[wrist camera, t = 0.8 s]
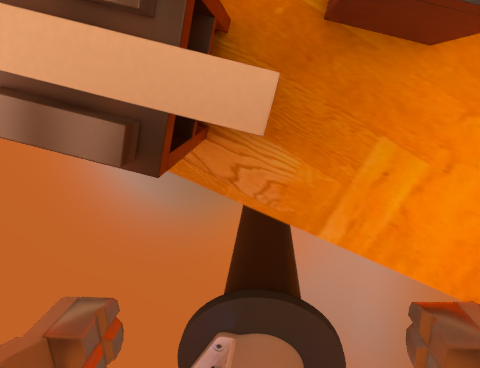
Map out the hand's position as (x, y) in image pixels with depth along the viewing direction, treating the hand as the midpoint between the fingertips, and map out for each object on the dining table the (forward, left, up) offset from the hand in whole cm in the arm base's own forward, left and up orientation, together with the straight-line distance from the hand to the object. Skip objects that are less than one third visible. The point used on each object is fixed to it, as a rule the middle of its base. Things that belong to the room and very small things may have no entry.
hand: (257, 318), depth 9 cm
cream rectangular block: (-1, +12, -15) cm, 19 cm away
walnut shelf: (-3, +15, -35) cm, 38 cm away
